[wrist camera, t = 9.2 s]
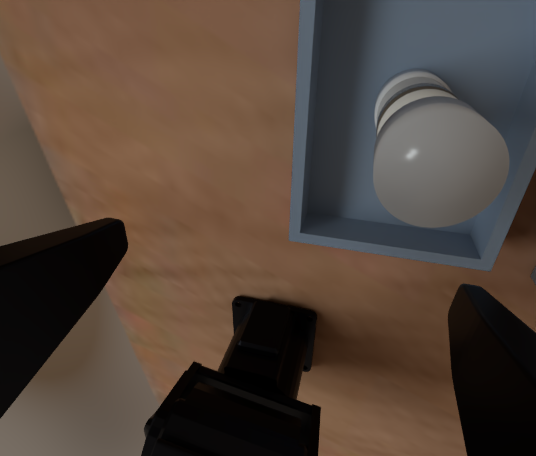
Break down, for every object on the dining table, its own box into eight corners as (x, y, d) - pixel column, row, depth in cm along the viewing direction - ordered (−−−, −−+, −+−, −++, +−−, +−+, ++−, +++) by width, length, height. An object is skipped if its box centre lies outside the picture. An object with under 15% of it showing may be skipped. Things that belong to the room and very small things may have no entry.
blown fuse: (436, 140, 17) (484, 235, 9) (369, 135, 18) (364, 219, 10) (455, 69, 15) (531, 115, 8) (380, 66, 16) (384, 106, 8)
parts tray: (476, 239, 19) (490, 271, 17) (298, 215, 22) (288, 240, 19) (605, -97, 12) (664, -128, 10) (317, -82, 14) (305, -103, 12)
